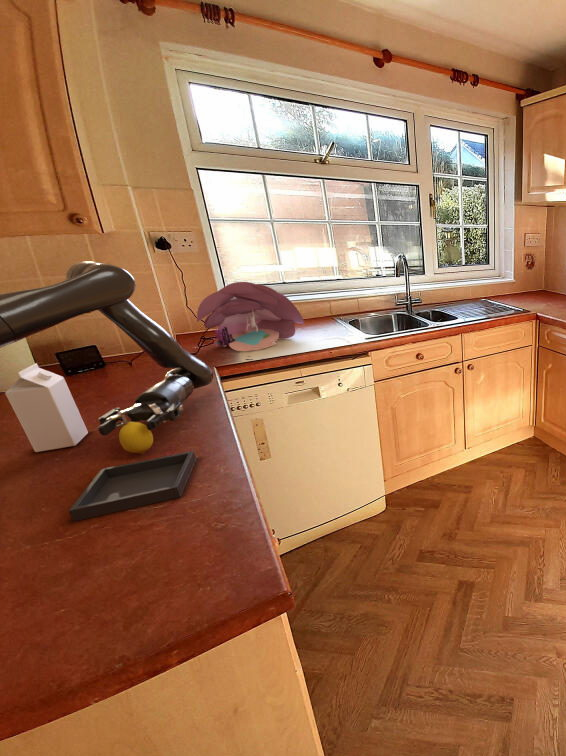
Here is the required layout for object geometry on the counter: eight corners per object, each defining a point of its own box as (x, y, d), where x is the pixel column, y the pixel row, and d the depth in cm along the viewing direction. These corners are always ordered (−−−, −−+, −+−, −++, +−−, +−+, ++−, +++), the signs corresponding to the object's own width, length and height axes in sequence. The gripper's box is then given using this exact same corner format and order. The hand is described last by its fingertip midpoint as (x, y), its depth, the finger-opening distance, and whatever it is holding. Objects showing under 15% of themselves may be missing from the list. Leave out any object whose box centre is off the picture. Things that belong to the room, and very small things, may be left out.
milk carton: (35, 453, 96) (-5, 375, 89) (51, 439, 102) (15, 365, 95) (75, 446, 99) (40, 370, 92) (88, 433, 105) (56, 360, 98)
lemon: (124, 462, 92) (110, 430, 89) (129, 451, 96) (116, 420, 93) (156, 455, 95) (144, 423, 92) (159, 444, 99) (148, 414, 96)
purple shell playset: (218, 369, 162) (190, 301, 146) (205, 345, 176) (177, 280, 161) (311, 342, 182) (294, 279, 166) (292, 323, 196) (275, 263, 180)
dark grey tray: (73, 521, 74) (68, 510, 73) (105, 478, 86) (101, 468, 86) (180, 497, 80) (176, 487, 79) (196, 459, 92) (193, 450, 92)
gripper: (123, 389, 102) (78, 417, 88) (190, 382, 106) (158, 409, 91) (134, 416, 105) (92, 449, 90) (199, 409, 108) (169, 439, 94)
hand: (125, 429), depth 91 cm, fingers open, 8 cm apart
